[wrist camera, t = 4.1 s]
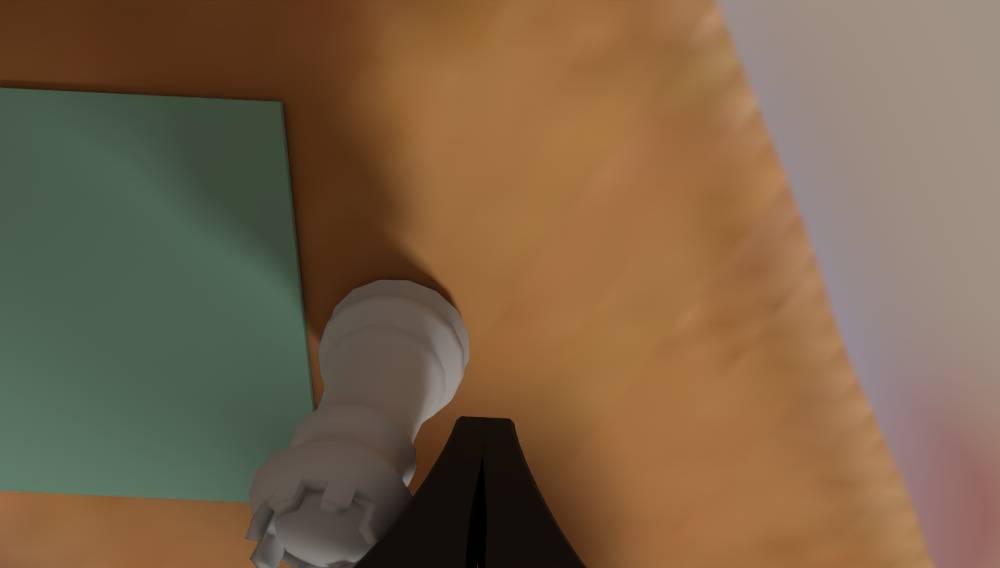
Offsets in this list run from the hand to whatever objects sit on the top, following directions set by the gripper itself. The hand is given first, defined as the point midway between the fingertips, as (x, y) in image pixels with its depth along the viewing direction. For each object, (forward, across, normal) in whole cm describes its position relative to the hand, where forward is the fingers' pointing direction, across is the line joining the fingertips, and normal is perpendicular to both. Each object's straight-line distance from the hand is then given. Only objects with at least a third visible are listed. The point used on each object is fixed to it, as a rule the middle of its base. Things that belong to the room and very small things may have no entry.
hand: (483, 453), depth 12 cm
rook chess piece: (+5, +3, 0) cm, 6 cm away
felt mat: (+5, +12, 0) cm, 13 cm away
